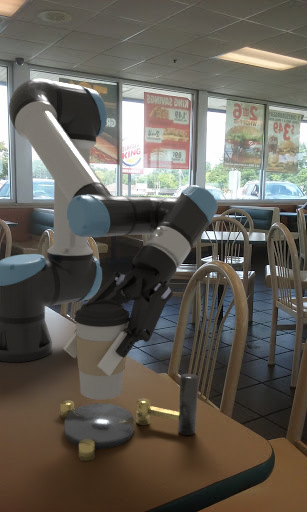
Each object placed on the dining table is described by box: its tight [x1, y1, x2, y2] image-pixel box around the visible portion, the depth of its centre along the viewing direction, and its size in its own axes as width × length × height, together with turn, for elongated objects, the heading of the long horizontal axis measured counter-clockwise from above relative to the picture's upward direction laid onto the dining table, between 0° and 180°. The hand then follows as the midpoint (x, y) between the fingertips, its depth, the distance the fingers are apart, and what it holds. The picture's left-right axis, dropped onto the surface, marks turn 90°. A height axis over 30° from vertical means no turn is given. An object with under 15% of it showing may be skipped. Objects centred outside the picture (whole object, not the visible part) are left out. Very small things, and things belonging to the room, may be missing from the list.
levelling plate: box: [60, 399, 135, 462], centre depth 80 cm, size 16×12×2 cm
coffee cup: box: [74, 299, 131, 401], centre depth 78 cm, size 9×9×15 cm
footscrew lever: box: [135, 373, 199, 436], centre depth 81 cm, size 11×3×10 cm, turn 70°
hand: (85, 361), depth 76 cm, fingers closed on coffee cup, 9 cm apart
